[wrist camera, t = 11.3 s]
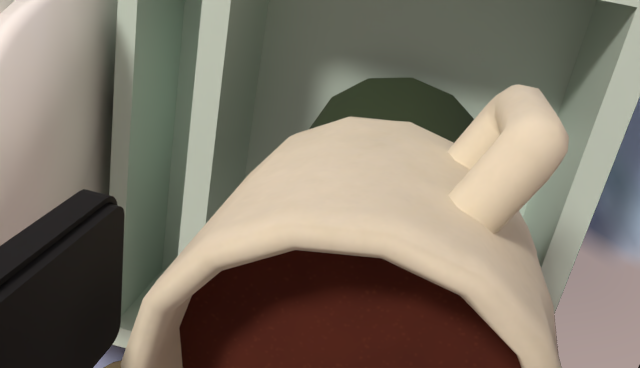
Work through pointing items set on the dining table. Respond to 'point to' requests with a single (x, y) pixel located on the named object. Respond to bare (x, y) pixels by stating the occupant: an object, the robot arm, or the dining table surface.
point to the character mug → (372, 244)
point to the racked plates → (54, 104)
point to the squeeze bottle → (114, 365)
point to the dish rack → (337, 76)
